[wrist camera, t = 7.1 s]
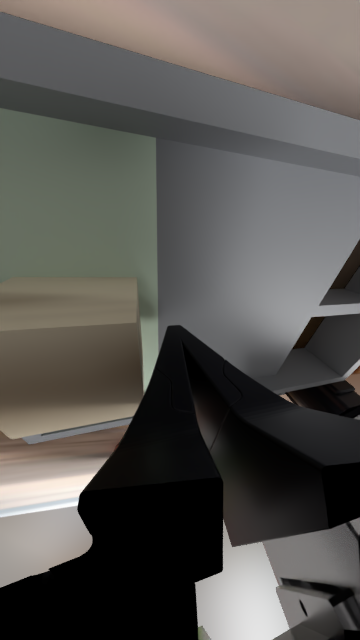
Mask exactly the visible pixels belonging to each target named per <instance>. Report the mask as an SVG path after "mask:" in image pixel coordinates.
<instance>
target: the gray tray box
mask: <svg viewBox="0 0 360 640" xmlns="http://www.w3.org/2000/svg"><path fill="white" fill-rule="evenodd" d="M359 240H360V120H357V119H354V118H350V117H347V116H344V115H340V114H337V113H334V112H331V111H327V110H324V109H321V108H317V107H314V106H311V105H307V104H304V103H301V102H297V101H294V100H291V99H288V98H284V97H281V96H278V95H274V94H271V93H268V92H264V91H261V90H258V89H254V88H251V87H248V86H245V85H241V84H238V83H235V82H231V81H228V80H225V79H221V78H218V77H215V76H211V75H208V74H205V73H202V72H198V71H195V70H192V69H188V68H185V67H182V66H178V65H175V64H172V63H168V62H165V61H162V60H159V59H155V58H152V57H149V56H145V55H142V54H139V53H135V52H132V51H129V50H125V49H122V48H119V47H116V46H112V45H109V44H106V43H102V42H99V41H96V40H92V39H89V38H86V37H82V36H79V35H76V34H72V33H69V32H66V31H63V30H59V29H56V28H53V27H49V26H46V25H43V24H39V23H36V22H33V21H29V20H26V19H23V18H20V17H16V16H13V15H10V14H6V13H3V12H0V283H2V282H4V281H6V280H8V279H10V278H12V277H137V284H138V297H139V310H140V323H141V336H142V349H143V373H144V394H145V391H146V389H147V387H148V384H149V382H150V379H151V376H152V373H153V370H154V367H155V364H156V361H157V357H158V354H159V351H160V348H161V345H162V342H163V338H164V335H165V332H166V329H167V326H170V325H181V326H183V327H184V328H185V329H186V330H188V331H189V332H190V333H192V334H193V335H194V336H196V337H197V338H198V339H200V340H201V341H202V342H203V343H205V344H206V345H207V346H209V347H210V348H211V349H213V350H214V351H215V352H217V353H218V354H219V355H220V356H222V357H223V358H224V359H225V360H227V361H228V362H230V363H231V364H232V365H234V366H235V367H236V368H238V369H239V370H241V371H242V372H243V373H245V374H246V375H248V376H249V377H251V378H252V379H254V380H256V381H257V382H259V383H260V384H262V385H263V386H265V387H266V388H268V389H270V390H271V391H273V392H274V393H276V394H280V393H285V392H290V391H295V390H300V389H305V388H310V387H314V386H319V385H324V384H329V383H334V382H339V381H344V380H345V379H346V378H347V377H348V376H349V375H350V374H351V373H352V372H353V371H354V370H355V369H356V368H357V367H358V366H359V365H360V267H359V268H358V269H357V271H356V272H355V274H354V275H353V277H352V278H351V280H350V281H349V283H348V284H347V286H346V287H345V289H329V288H330V286H331V285H332V283H333V282H334V280H335V278H336V277H337V275H338V274H339V272H340V270H341V269H342V267H343V265H344V264H345V262H346V261H347V259H348V257H349V256H350V254H351V252H352V251H353V249H354V248H355V246H356V244H357V243H358V241H359ZM320 316H326V317H325V318H324V320H323V321H322V323H321V324H320V326H319V327H318V329H317V330H316V332H315V333H314V335H313V336H312V338H311V339H310V341H309V342H308V344H307V345H306V347H305V348H299V349H292V348H293V346H294V345H295V343H296V341H297V340H298V338H299V337H300V335H301V333H302V332H303V330H304V329H305V327H306V325H307V324H308V322H309V320H310V319H311V317H320ZM132 418H133V416H132V417H126V418H121V419H116V420H111V421H105V422H100V423H95V424H89V425H84V426H79V427H74V428H68V429H63V430H58V431H53V432H47V433H42V434H37V435H32V436H26V437H21V438H22V439H23V440H24V441H26V442H27V443H28V444H34V443H39V442H44V441H49V440H54V439H59V438H64V437H69V436H73V435H78V434H83V433H88V432H93V431H98V430H103V429H108V428H113V427H118V426H123V425H128V424H130V422H131V420H132Z"/></svg>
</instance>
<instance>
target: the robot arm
mask: <svg viewBox="0 0 360 640" xmlns="http://www.w3.org/2000/svg"><path fill="white" fill-rule="evenodd" d="M354 390H355V388H354V387H353V386H352V385H350V384H349V383H348V382H347V381H345V380H344V381H339V382H334V383H329V384H324V385H319V386H314V387H310V388H305V389H300V390H295V391H290V392H285V393H280V394H276V393H274V392H273V391H271V390H270V389H268V388H266V387H265V386H263V385H262V384H260V383H259V382H257V381H256V380H254V379H252V378H251V377H249V376H248V375H246V374H245V373H243V372H242V371H241V370H239V369H238V368H236V367H235V366H234V365H232V364H231V363H230V362H228V361H227V360H225V359H224V358H223V357H222V356H220V355H219V354H218V353H217V352H215V351H214V350H213V349H211V348H210V347H209V346H207V345H206V344H205V343H203V342H202V341H201V340H200V339H198V338H197V337H196V336H194V335H193V334H192V333H190V332H189V331H188V330H186V329H185V328H184V327H183V326H181V325H170V326H167V329H166V332H165V335H164V338H163V342H162V345H161V348H160V351H159V354H158V357H157V361H156V364H155V367H154V370H153V373H152V376H151V379H150V382H149V384H148V387H147V389H146V391H145V394H144V396H143V398H142V400H141V402H140V404H139V406H138V408H137V410H136V412H135V414H134V416H133V418H132V420H131V422H130V425H129V427H128V429H127V430H126V432H125V434H124V436H123V438H122V440H121V441H120V443H119V445H118V446H117V448H116V449H115V451H114V452H113V454H112V455H111V456H110V457H109V459H108V460H107V461H106V462H105V464H104V465H103V466H102V467H101V469H100V470H99V471H98V472H97V474H96V475H95V476H94V477H93V479H92V480H91V481H90V482H89V484H88V485H87V486H86V487H85V489H84V490H83V491H82V492H81V494H80V496H79V502H78V509H77V510H78V513H79V515H80V517H81V519H82V520H83V522H84V524H85V526H86V528H87V529H88V531H89V533H90V534H91V535H92V538H93V543H92V546H91V547H90V549H89V550H88V551H87V552H86V553H85V554H83V555H81V556H80V557H77V558H75V559H72V560H70V561H67V562H64V563H62V564H59V565H57V566H54V567H52V568H49V570H50V571H47V572H44V573H41V574H38V575H33V576H29V577H27V578H24V579H21V580H19V581H17V582H14V583H11V584H9V585H6V586H4V587H1V588H0V640H211V639H210V637H209V636H208V634H207V633H206V631H205V629H204V628H203V626H200V627H198V622H197V606H196V589H195V582H198V581H200V580H203V579H205V578H208V577H210V576H213V575H215V574H218V573H220V572H222V570H223V519H224V522H225V525H226V529H227V532H228V535H229V539H230V542H231V545H232V547H236V546H241V545H247V544H252V543H257V542H263V545H264V548H265V550H266V553H267V556H268V558H269V561H270V563H271V566H272V569H273V571H274V574H275V577H276V579H277V582H278V585H279V586H278V587H276V592H277V595H278V597H279V600H280V603H281V606H282V609H283V611H284V614H285V617H286V619H287V622H288V625H289V628H290V629H289V630H288V631H286V632H285V633H283V634H281V635H280V636H278V637H276V638H274V639H273V640H360V396H359V395H358V394H357V393H356V392H355V391H354ZM283 394H286V395H287V396H288V397H289V399H290V400H291V401H292V402H293V403H294V404H293V403H291V402H289V401H287V400H285V399H284V398H282V397H280V396H279V395H283Z"/></svg>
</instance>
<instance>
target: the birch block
mask: <svg viewBox="0 0 360 640" xmlns="http://www.w3.org/2000/svg"><path fill="white" fill-rule="evenodd" d="M143 396H144V373H143V349H142V336H141V323H140V310H139V297H138V284H137V277H12V278H10V279H8V280H6V281H4V282H2V283H0V431H2V432H3V433H4V434H5V435H6V436H8V437H9V438H10V439H16V438H21V437H26V436H32V435H37V434H42V433H47V432H53V431H58V430H63V429H68V428H74V427H79V426H84V425H89V424H95V423H100V422H105V421H111V420H116V419H121V418H126V417H132V416H134V414H135V412H136V410H137V408H138V406H139V404H140V402H141V400H142V398H143Z"/></svg>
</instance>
